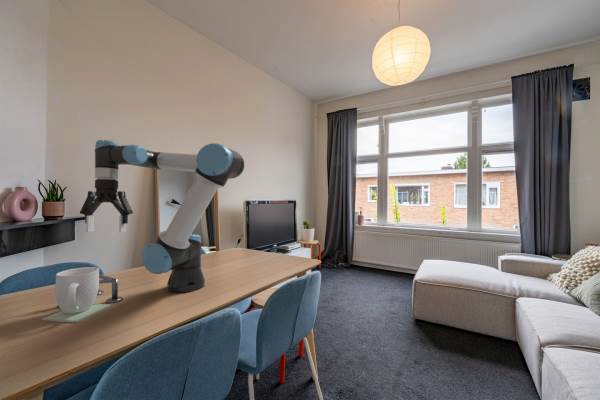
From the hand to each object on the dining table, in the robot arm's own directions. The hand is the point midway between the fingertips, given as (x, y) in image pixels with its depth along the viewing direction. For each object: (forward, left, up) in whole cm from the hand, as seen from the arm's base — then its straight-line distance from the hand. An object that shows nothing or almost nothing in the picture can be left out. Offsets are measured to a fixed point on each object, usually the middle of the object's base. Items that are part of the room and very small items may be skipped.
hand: (106, 231), depth 101 cm
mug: (-6, +17, -25) cm, 30 cm away
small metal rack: (-3, +6, -25) cm, 26 cm away
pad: (-7, +17, -25) cm, 31 cm away
